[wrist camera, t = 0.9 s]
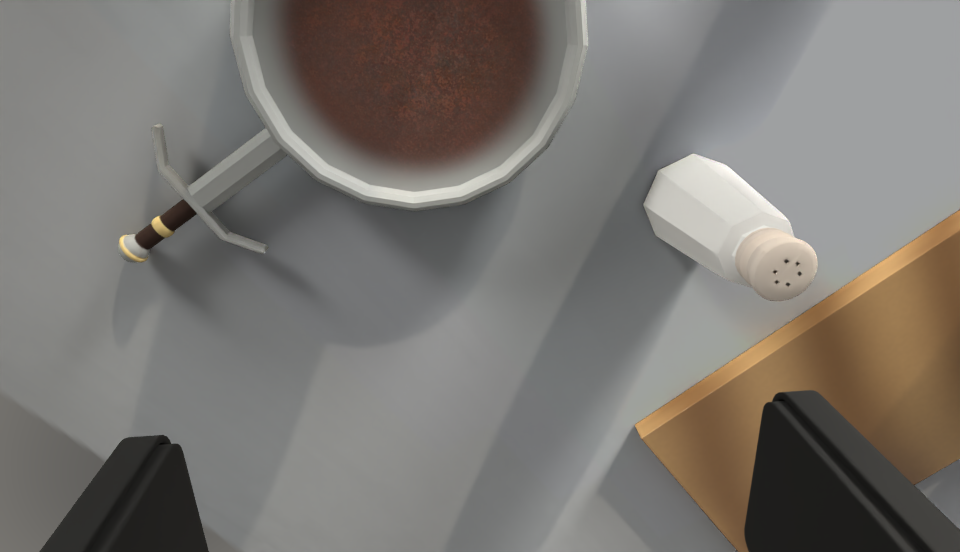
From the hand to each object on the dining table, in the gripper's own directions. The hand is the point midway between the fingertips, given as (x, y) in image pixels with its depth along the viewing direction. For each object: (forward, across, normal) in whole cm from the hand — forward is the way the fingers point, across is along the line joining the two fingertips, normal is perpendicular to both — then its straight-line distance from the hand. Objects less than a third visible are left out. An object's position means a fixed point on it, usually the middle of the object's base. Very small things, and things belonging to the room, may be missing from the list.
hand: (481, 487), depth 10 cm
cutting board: (+26, -26, +18) cm, 41 cm away
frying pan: (+26, +6, -3) cm, 27 cm away
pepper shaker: (+26, -14, +3) cm, 30 cm away
